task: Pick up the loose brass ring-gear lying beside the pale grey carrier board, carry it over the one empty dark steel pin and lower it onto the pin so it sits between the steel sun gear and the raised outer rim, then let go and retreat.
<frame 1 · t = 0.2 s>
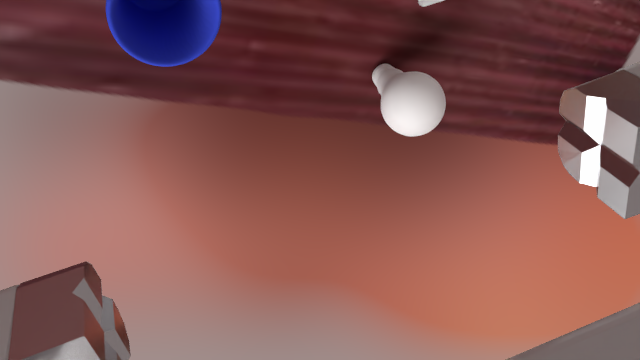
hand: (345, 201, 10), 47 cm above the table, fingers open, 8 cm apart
lightbulb: (379, 71, 65), on the table
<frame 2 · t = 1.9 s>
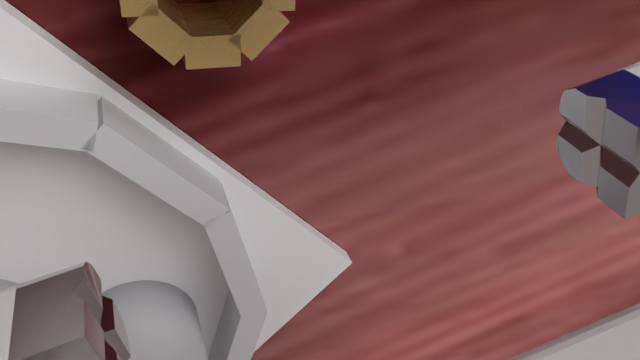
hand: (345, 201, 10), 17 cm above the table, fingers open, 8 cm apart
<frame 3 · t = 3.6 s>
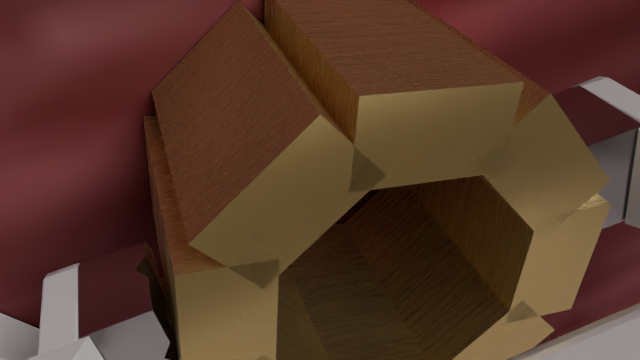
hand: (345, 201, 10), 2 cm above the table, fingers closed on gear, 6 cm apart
gear: (314, 150, 11), on the table, touching gripper
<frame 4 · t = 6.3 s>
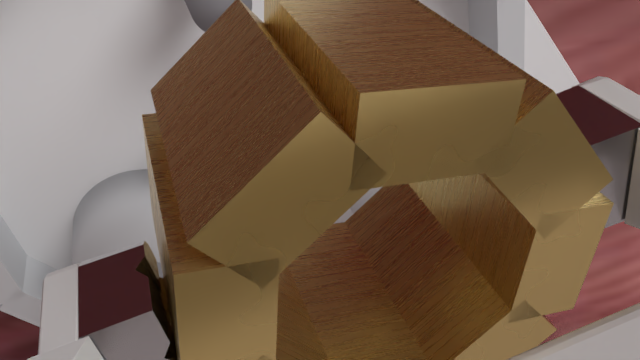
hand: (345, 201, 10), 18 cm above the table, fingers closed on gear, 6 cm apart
gear: (315, 148, 11), point 16 cm above the table, touching gripper
carrier board: (240, 110, 28), on the table
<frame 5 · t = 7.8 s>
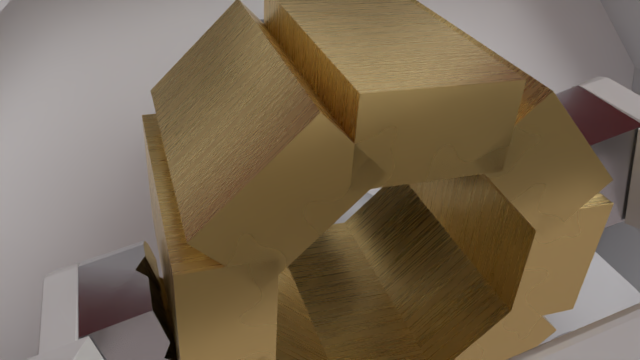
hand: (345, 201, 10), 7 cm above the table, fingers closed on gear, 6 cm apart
gear: (315, 149, 11), point 6 cm above the table, touching gripper
carrier board: (306, 242, 20), on the table
when the fingers open (4 cm above the table, at t = 9.0 s): gear drops 1 cm, resting on carrier board.
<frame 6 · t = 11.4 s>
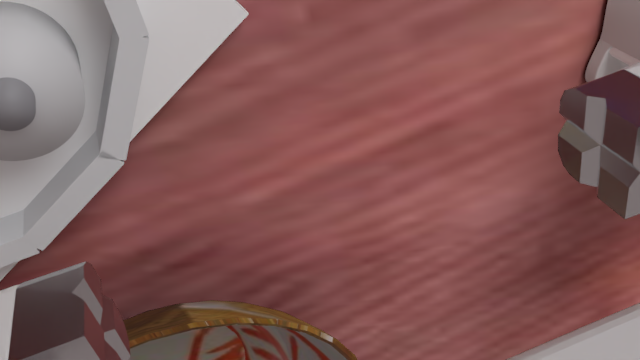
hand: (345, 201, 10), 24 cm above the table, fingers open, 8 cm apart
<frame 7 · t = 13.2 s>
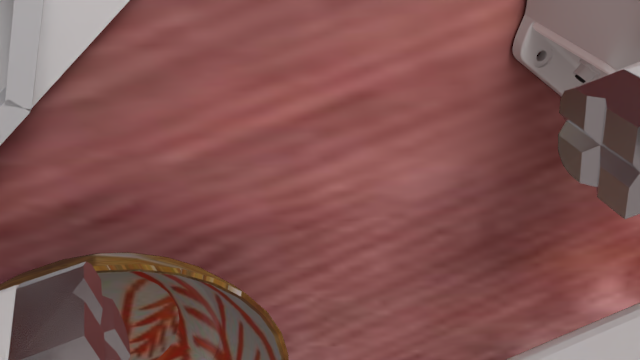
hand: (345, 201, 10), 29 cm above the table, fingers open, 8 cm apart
bowl: (104, 325, 48), on the table
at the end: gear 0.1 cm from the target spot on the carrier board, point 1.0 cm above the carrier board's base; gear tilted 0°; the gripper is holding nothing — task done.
